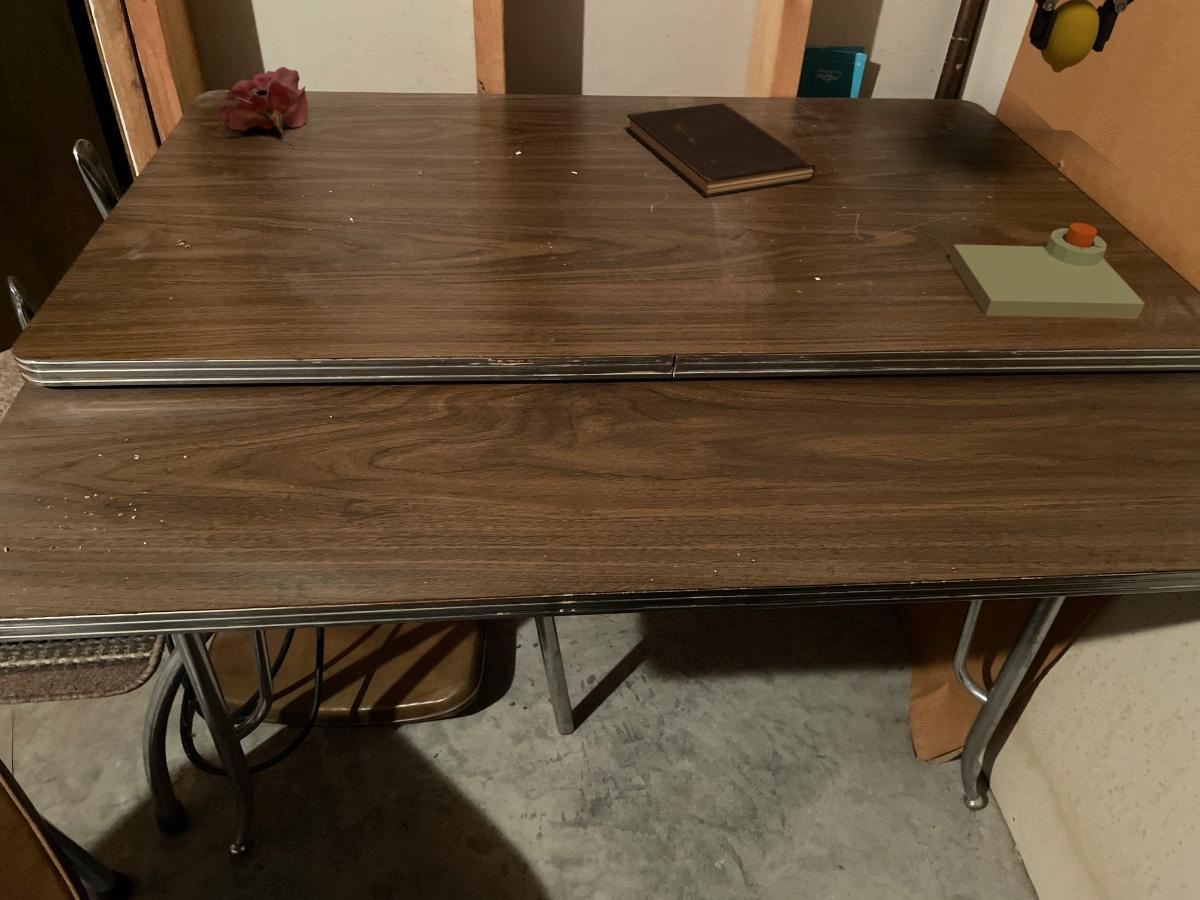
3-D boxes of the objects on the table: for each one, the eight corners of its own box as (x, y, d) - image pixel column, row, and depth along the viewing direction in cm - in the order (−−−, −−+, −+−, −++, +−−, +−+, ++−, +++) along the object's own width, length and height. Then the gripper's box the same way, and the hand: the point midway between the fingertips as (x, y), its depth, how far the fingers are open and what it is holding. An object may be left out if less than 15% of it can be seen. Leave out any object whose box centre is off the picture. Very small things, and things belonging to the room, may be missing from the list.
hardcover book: (704, 197, 113) (707, 180, 111) (626, 130, 128) (626, 114, 127) (813, 180, 118) (816, 163, 116) (724, 118, 134) (726, 102, 132)
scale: (1082, 257, 104) (1094, 228, 102) (1137, 319, 94) (1151, 289, 92) (944, 253, 104) (953, 225, 102) (985, 316, 94) (996, 286, 91)
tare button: (1084, 237, 101) (1090, 222, 100) (1095, 249, 99) (1101, 234, 98) (1059, 236, 101) (1065, 222, 100) (1070, 248, 99) (1076, 234, 98)
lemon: (1089, 81, 101) (1118, 3, 96) (1039, 79, 101) (1065, 1, 96) (1072, 65, 106) (1098, -10, 100) (1024, 63, 106) (1047, -12, 100)
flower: (234, 152, 126) (237, 77, 125) (309, 159, 127) (312, 85, 126) (209, 131, 114) (211, 48, 113) (291, 138, 115) (294, 57, 115)
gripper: (1059, -143, 87) (1000, 55, 99) (1237, -137, 87) (1157, 60, 99) (1031, -154, 93) (977, 35, 104) (1197, -148, 93) (1126, 39, 105)
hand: (1065, 45), depth 102 cm, fingers closed on lemon, 5 cm apart
